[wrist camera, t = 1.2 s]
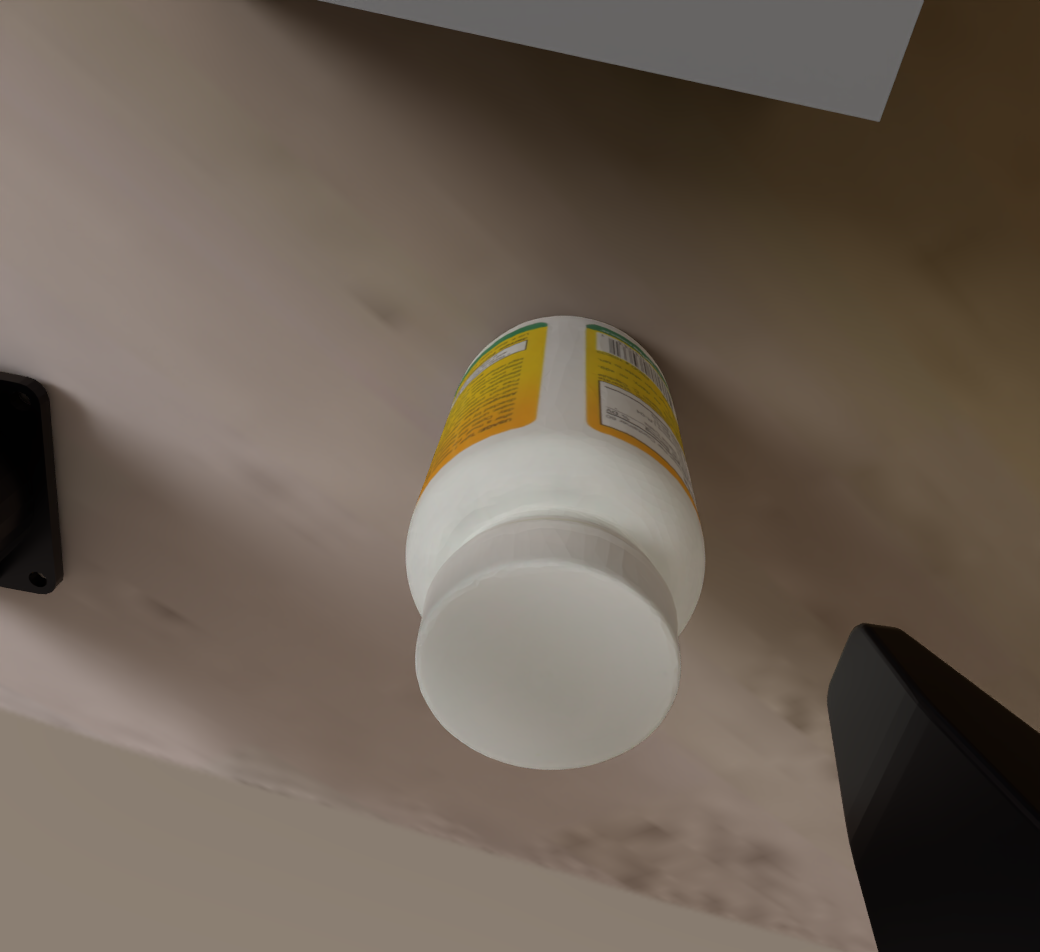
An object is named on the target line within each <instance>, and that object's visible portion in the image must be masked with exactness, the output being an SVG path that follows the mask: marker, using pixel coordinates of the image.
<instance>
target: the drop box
mask: <svg viewBox="0 0 1040 952" xmlns="http://www.w3.org/2000/svg"><path fill="white" fill-rule="evenodd" d="M319 1H324V2H328V3H333V4H338V5H342V6H347V7H351V8H356V9H361V10H365V11H370V12H375V13H379V14H384V15H388V16H393V17H398V18H402V19H407V20H411V21H416V22H421V23H425V24H430V25H435V26H439V27H444V28H448V29H453V30H458V31H462V32H467V33H471V34H476V35H481V36H485V37H490V38H495V39H499V40H504V41H508V42H513V43H518V44H522V45H527V46H531V47H536V48H541V49H545V50H550V51H555V52H559V53H564V54H568V55H573V56H578V57H582V58H587V59H591V60H596V61H601V62H605V63H610V64H615V65H619V66H624V67H628V68H633V69H638V70H642V71H647V72H651V73H656V74H661V75H665V76H670V77H675V78H679V79H684V80H688V81H693V82H698V83H702V84H707V85H711V86H716V87H721V88H725V89H730V90H735V91H739V92H744V93H748V94H753V95H758V96H762V97H767V98H771V99H776V100H781V101H785V102H790V103H795V104H799V105H804V106H808V107H813V108H818V109H822V110H827V111H831V112H836V113H841V114H845V115H850V116H855V117H859V118H864V119H868V120H873V121H878V122H880V119H881V116H882V114H883V111H884V108H885V105H886V103H887V100H888V97H889V94H890V92H891V89H892V86H893V84H894V81H895V78H896V75H897V73H898V70H899V67H900V64H901V62H902V59H903V56H904V53H905V51H906V48H907V45H908V43H909V40H910V37H911V34H912V32H913V29H914V26H915V23H916V21H917V18H918V15H919V12H920V10H921V7H922V4H923V2H924V0H319Z"/></svg>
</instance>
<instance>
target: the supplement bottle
mask: <svg viewBox="0 0 1040 952" xmlns="http://www.w3.org/2000/svg"><path fill="white" fill-rule="evenodd" d="M406 570H407V577H408V583H409V587H410V591H411V594H412V597H413V599H414V602H415V605H416V607H417V609H418V611H419V613H420V615H421V617H422V620H421V624H420V628H419V632H418V637H417V643H416V651H415V669H416V675H417V679H418V683H419V687H420V691H421V693H422V695H423V697H424V699H425V701H426V703H427V705H428V706H429V708H430V710H431V711H432V713H433V714H434V716H435V717H436V718H437V720H438V721H439V722H440V724H441V725H442V726H443V727H444V728H445V729H446V730H447V731H448V732H449V733H451V734H452V735H453V736H454V737H456V738H457V739H458V740H459V741H461V742H462V743H464V744H465V745H467V746H468V747H470V748H472V749H473V750H475V751H477V752H479V753H481V754H483V755H485V756H487V757H489V758H492V759H495V760H498V761H501V762H503V763H506V764H510V765H514V766H518V767H523V768H530V769H541V770H565V769H573V768H582V767H587V766H591V765H594V764H598V763H601V762H604V761H606V760H609V759H611V758H614V757H616V756H618V755H621V754H623V753H625V752H627V751H629V750H631V749H632V748H634V747H635V746H636V745H638V744H640V743H641V742H642V741H644V740H645V739H646V738H647V737H648V736H649V735H650V734H651V733H652V732H653V731H654V730H655V729H656V728H657V727H658V726H659V725H660V724H661V722H662V721H663V720H664V718H665V717H666V715H667V713H668V712H669V710H670V708H671V706H672V704H673V702H674V699H675V697H676V695H677V691H678V688H679V682H680V676H681V655H680V646H679V639H678V636H679V635H680V634H681V632H682V631H683V630H684V628H685V627H686V625H687V623H688V621H689V620H690V618H691V616H692V614H693V612H694V610H695V608H696V605H697V603H698V600H699V597H700V594H701V590H702V586H703V580H704V574H705V547H704V538H703V533H702V528H701V522H700V518H699V512H698V509H697V505H696V501H695V496H694V492H693V488H692V484H691V479H690V474H689V471H688V466H687V462H686V458H685V454H684V449H683V445H682V440H681V436H680V432H679V427H678V422H677V417H676V413H675V409H674V405H673V401H672V398H671V395H670V391H669V388H668V385H667V383H666V380H665V378H664V376H663V374H662V372H661V370H660V368H659V367H658V365H657V364H656V363H655V361H654V360H653V358H652V357H651V356H650V355H649V354H648V353H647V351H646V350H645V349H644V348H643V347H642V346H641V345H640V344H639V343H638V342H636V341H635V340H634V339H633V338H631V337H630V336H628V335H627V334H626V333H624V332H623V331H621V330H619V329H617V328H615V327H613V326H611V325H608V324H606V323H603V322H600V321H597V320H593V319H589V318H584V317H577V316H552V317H544V318H539V319H534V320H530V321H527V322H524V323H522V324H519V325H518V326H516V327H514V328H512V329H510V330H508V331H507V332H505V333H503V334H502V335H501V336H499V337H498V338H496V339H495V340H494V341H492V342H491V343H490V344H488V345H487V346H486V347H485V348H484V349H483V350H482V351H481V352H480V353H479V354H478V356H477V357H476V358H475V359H474V360H473V362H472V363H471V365H470V366H469V367H468V369H467V371H466V373H465V374H464V376H463V378H462V380H461V383H460V385H459V387H458V389H457V391H456V394H455V398H454V401H453V404H452V407H451V410H450V412H449V415H448V418H447V421H446V424H445V427H444V430H443V433H442V435H441V438H440V441H439V444H438V447H437V449H436V452H435V454H434V457H433V460H432V463H431V466H430V469H429V471H428V474H427V476H426V479H425V482H424V485H423V487H422V490H421V493H420V496H419V498H418V501H417V504H416V507H415V510H414V512H413V515H412V518H411V522H410V526H409V531H408V535H407V542H406Z"/></svg>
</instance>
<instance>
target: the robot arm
mask: <svg viewBox="0 0 1040 952" xmlns="http://www.w3.org/2000/svg"><path fill="white" fill-rule="evenodd" d="M19 392H21V393H23V394H25V395H26V396H27V397H28V398H29V401H30V403H31V404H28V403H25V402H24V401H23V400H22V399H21V397H20V394H19ZM38 573H41V574H42V575H44V576H45V577H46V578H43V577H41V576H40V575H39V574H38ZM62 580H63V564H62V551H61V539H60V527H59V514H58V502H57V490H56V478H55V465H54V453H53V441H52V428H51V416H50V404H49V397H48V394H47V391H46V390H45V388H44V387H43V386H42V385H41V384H40V383H39V382H37V381H36V380H34V379H31V378H29V377H25V376H20V375H15V374H10V373H5V372H0V587H6V588H11V589H16V590H21V591H27V592H32V593H37V594H47V593H50V592H52V591H53V590H54V589H55V588H56V587H57V586H58V584H59V583H60V582H61V581H62ZM827 706H828V713H829V720H830V726H831V733H832V739H833V746H834V752H835V758H836V765H837V771H838V778H839V784H840V790H841V797H842V803H843V810H844V816H845V822H846V828H847V833H848V838H849V844H850V848H851V852H852V856H853V860H854V864H855V868H856V872H857V875H858V879H859V883H860V886H861V890H862V894H863V897H864V901H865V905H866V908H867V912H868V916H869V919H870V923H871V927H872V930H873V934H874V937H875V941H876V945H877V948H878V952H1040V733H1038V732H1037V731H1036V730H1034V729H1033V728H1032V727H1030V726H1029V725H1028V724H1026V723H1025V722H1024V721H1022V720H1021V719H1020V718H1018V717H1017V716H1016V715H1014V714H1013V713H1012V712H1010V711H1009V710H1008V709H1006V708H1005V707H1004V706H1002V705H1001V704H1000V703H998V702H997V701H996V700H994V699H993V698H992V697H990V696H989V695H988V694H986V693H985V692H984V691H982V690H981V689H980V688H978V687H977V686H976V685H974V684H973V683H972V682H970V681H969V680H968V679H966V678H965V677H964V676H962V675H961V674H960V673H958V672H957V671H956V670H954V669H953V668H952V667H950V666H949V665H948V664H946V663H945V662H944V661H942V660H941V659H940V658H938V657H937V656H936V655H934V654H933V653H932V652H930V651H929V650H928V649H926V648H925V647H924V646H922V645H921V644H920V643H918V642H917V641H916V640H914V639H913V638H912V637H910V636H909V635H908V634H906V633H905V632H904V631H902V630H901V629H898V628H895V627H888V626H881V625H874V624H867V623H862V624H860V625H857V626H856V627H855V628H854V629H853V630H852V632H851V633H850V635H849V638H848V640H847V642H846V645H845V647H844V650H843V652H842V655H841V657H840V659H839V662H838V664H837V667H836V669H835V672H834V674H833V676H832V679H831V681H830V684H829V689H828V696H827Z"/></svg>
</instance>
